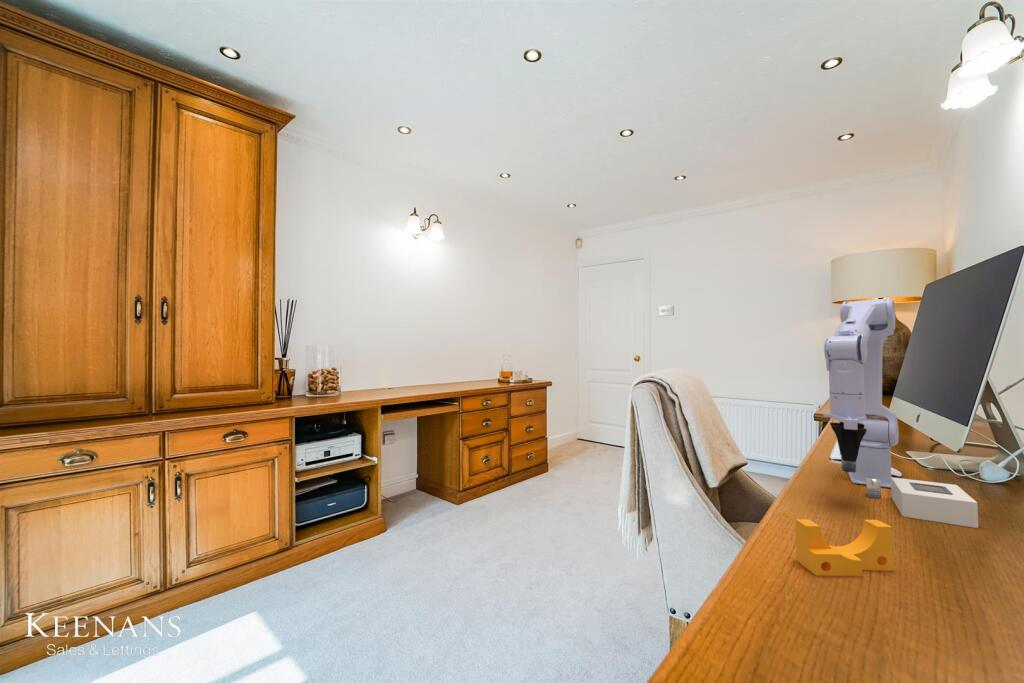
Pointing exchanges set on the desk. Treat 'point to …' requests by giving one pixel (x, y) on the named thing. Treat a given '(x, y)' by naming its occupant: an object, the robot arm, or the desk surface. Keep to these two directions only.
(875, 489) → the short pin
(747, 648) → the desk surface
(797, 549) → the pipe clamp
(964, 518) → the pin block
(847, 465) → the long pin
